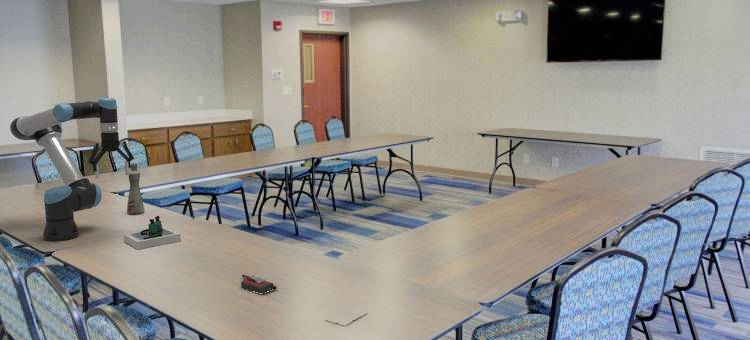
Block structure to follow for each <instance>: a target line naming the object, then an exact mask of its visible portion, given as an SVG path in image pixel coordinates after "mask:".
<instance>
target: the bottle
mask: <svg viewBox="0 0 750 340" xmlns="http://www.w3.org/2000/svg"><path fill="white" fill-rule="evenodd" d="M127 176H128V181H129V190H128V198H127V199H128V200H127V205H126V212H127V215H131V216H132V215H133V216H134V215H135V216H136V215H141V214H143V213H144V212H145V206H144V200H143V196H142V192H141V188H140V178H141V177H140V176H141V172H140V171H139V170H138V163H134V162H133V163H130V170H129V175H127Z"/></svg>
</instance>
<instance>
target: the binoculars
mask: <svg viewBox="0 0 750 340" xmlns="http://www.w3.org/2000/svg"><path fill="white" fill-rule="evenodd" d="M160 216H161V215H157V216H155V217H154V218H150V219H149V222H150V223H148V224H147V225H148V228H146V229H143V230H140V231H141V232H140V233H141V235H148V236H149V237H144V238H143V240H145V239H150V238H156V237H161V236H163V235H162V233H163V228H162V227H163V225H162V221H161V220H160V218H161V217H160ZM146 231H149V232H148V234H147V232H146ZM143 232H146V233H143Z"/></svg>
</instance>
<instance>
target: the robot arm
mask: <svg viewBox="0 0 750 340" xmlns="http://www.w3.org/2000/svg"><path fill="white" fill-rule="evenodd" d="M83 119H84V120H85V119H99V125H100V128H99V129H100V131H101V132H100V140H101V141H100V142H99V143H98V142H94V143H93V149H92V151H91V153H90V156H89V158H88V160H87V163H88V164H90V165H92V171H93V172H94V174H95V179H97V180H99V179H100V170H99V169H100V168H99V164H98V163H99V161H100V160H101V159H102V158H103V156H105V154H106V153H110V152H117V153H118V154H119V155H120V156H121V157H122V158H123V159H125V160H124V173H125V175H126V176H128V175H129V171H130V170H129V169H131V166H130V165H131V162H132V161H133V160H135V157H134V155H133V153H132V152H131V150H130V149H129V147H128V145H127V141H126V140H121V141H120V137H119V132H118V131H119V123H118V122H119V121H118V120H119V119H118V103H117V99H116V98H113V97H103V98H102V97H100V98H99V99H98V101H91V100H90V101H89V100H88V101H87V100H86V101H81V102H67V103H66V102H62V103H57V104H55V105H54V106H53V107H52V108H49V109H46V110H44V111H40V112H38V113H35V114H32V115H22V116H19V117H17V118H14V119H13V120H12V122H11V123H10V126H9V127H10V128H9V130H10V132H11V134H12V135H13V136H14V137H15V139H17V140H21V141H34V140H35V142H36V143H37V145H38V146H40V147H42V148H43V149H44V150H45V152H46V154H47V156H48V157H49V159H50V161H51V163H52V164H53V166H54V168H55V169H56V171H57V173H58V174H59V176H60V178H61V179H62V181H63V182H64V184H65V185H60V186H55V187H51V188H49V189H47V190H45V192H44V193H43V203H44V211H45V212H44V214H45V225H44V230H43V233H42V239H43V241H47V242H61V241H67V240H73V239H75V238H78V237H79V236H80V229H79V228H78V225H77V223H76V221H75V219H74V218H75V215H74V213H77V212H79V211H80V212H81V211H83V210H89V209H90V210H91V209H92V208H95V207H97V206H99V204H100V203H101V202H102V190H101V187H100V186H99V185H98V184H97V183H93V182H92V183H91V181H90V179H89V178H88V177H84V176H83V174H82V172H81V171H80V169H79V168H78V166H77V164H76V162H75V161H74V159H73V157H72V156H71V154H70V152H69V151H68V149H67V147H66V145H65V144H64V143H63V141H62V139H61V138H62V134H63V128H62V127H63V126H62V123H65V122H69V121H73V120H83ZM120 146H122V148H123V149H124V151H125V152H123V151H122V149H121V148H120ZM100 147H101V149H100V151H99V148H100ZM98 151H99V153H98ZM125 153H126V154H125Z"/></svg>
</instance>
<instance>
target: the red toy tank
mask: <svg viewBox="0 0 750 340" xmlns="http://www.w3.org/2000/svg"><path fill="white" fill-rule="evenodd" d="M241 277H242V278H244V279H243V280H241V281H240V286H241V287H240V288H241V289H242V288H244V289H243V290H245V289H248V290H251V291H255V292H258V293H265V292H267V291H270V290H272V289H274V290H277V289H278V288H277V286H276V285H274V283H273V282H270V281H267V280H266V278H263V277H260V276H256V275H250V276H248V275H246V274H242V275H241ZM248 290H247V291H248ZM251 291H250V292H251Z"/></svg>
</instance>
